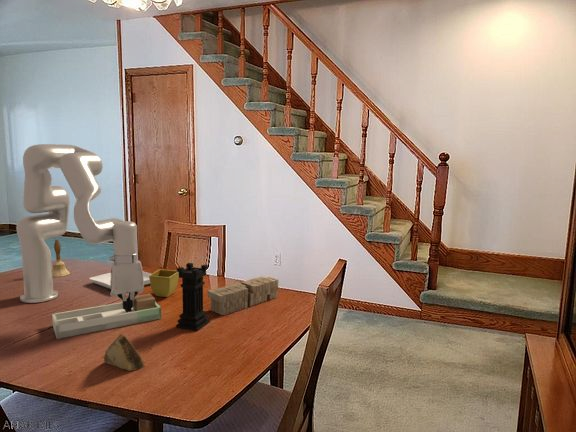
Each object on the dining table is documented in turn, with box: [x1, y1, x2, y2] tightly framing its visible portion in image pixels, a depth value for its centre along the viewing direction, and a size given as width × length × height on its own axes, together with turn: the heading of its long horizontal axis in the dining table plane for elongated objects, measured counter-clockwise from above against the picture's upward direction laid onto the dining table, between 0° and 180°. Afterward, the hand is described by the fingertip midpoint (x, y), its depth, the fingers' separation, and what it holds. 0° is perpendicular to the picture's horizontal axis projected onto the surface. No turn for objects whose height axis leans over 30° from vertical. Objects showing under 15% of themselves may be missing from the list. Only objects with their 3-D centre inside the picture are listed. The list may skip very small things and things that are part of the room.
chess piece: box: [175, 262, 211, 332], centre depth 145 cm, size 8×8×20 cm
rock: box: [103, 333, 146, 371], centre depth 120 cm, size 11×9×10 cm
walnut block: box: [133, 293, 156, 311], centre depth 153 cm, size 6×6×4 cm
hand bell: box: [52, 239, 71, 278], centre depth 196 cm, size 8×8×16 cm
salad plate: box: [88, 270, 152, 290], centre depth 187 cm, size 21×21×3 cm
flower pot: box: [149, 269, 179, 298], centre depth 174 cm, size 9×9×9 cm
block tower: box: [206, 275, 279, 316], centre depth 167 cm, size 8×8×29 cm
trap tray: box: [51, 301, 162, 340], centre depth 147 cm, size 12×32×4 cm, turn 123°
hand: (128, 310), depth 150 cm, fingers closed
